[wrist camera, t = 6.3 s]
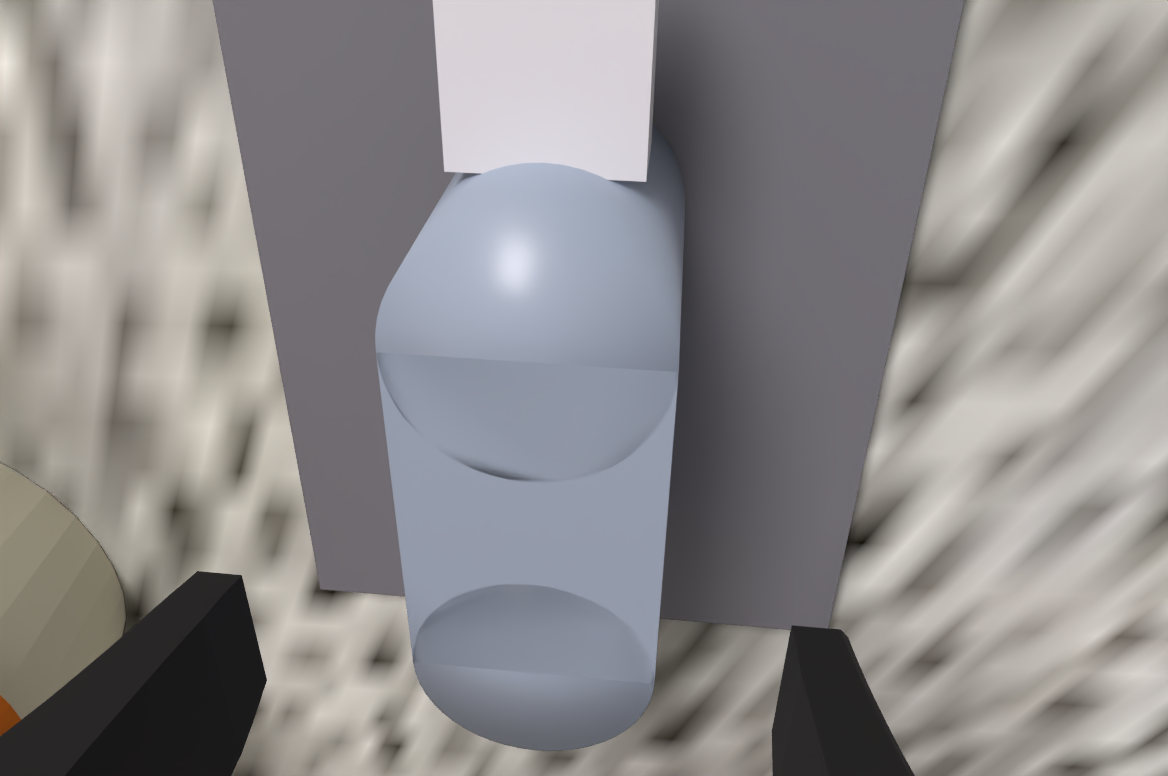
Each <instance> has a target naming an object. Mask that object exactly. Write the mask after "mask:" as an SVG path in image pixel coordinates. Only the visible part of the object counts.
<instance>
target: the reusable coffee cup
mask: <svg viewBox="0 0 1168 776" xmlns="http://www.w3.org/2000/svg"><path fill="white" fill-rule="evenodd" d="M125 619H126V613H125V604H124V595H123V591H122V589H121V586H120V583H119V580H118V578H117V575H116V572H115V570H114V568H113V566H112V564H111V563H110V561H109V559H108V558H107V556H106V555H105V553H104V551H103V550H102V548H101V546H100V545H99V543H98V542H97V541H96V539H95V538H94V537H93V536H92V535H91V534H90V533H89V531H88V530H87V529H86V528H85V527H84V526H83V524H82V523H81V522H80V521H79V520H78V519H77V518H76V516H74V515H73V514H72V513H71V512H70V511H69V510H68V509H66V508H65V507H64V506H63V505H62V504H61V503H60V502H58V501H57V500H56V499H55V498H54V497H53V496H51V495H50V494H49V493H48V492H47V491H45V490H44V489H42V488H41V487H39V486H38V485H36V484H35V483H33V482H32V481H30V480H29V479H27V478H26V477H24V476H23V475H21V474H20V473H18V472H17V471H15V470H13V469H11V468H9V467H7V466H6V465H4V464H2V463H0V736H1V735H2V734H4V733H5V732H6V731H8V730H9V729H10V728H11V727H13V726H14V725H15V724H17V723H18V722H19V721H20V720H22V719H23V718H24V717H25V716H27V715H28V714H29V713H31V712H32V711H33V710H34V709H36V708H37V707H38V706H40V705H41V704H42V703H43V702H45V701H46V700H47V699H48V698H50V697H51V696H52V695H53V694H55V693H56V692H57V691H58V690H59V689H61V688H62V687H63V686H64V685H65V684H67V683H68V682H69V681H70V680H71V679H73V678H74V677H75V676H76V675H77V674H79V673H80V672H81V671H82V670H83V669H84V668H86V667H87V666H88V665H89V664H90V663H92V662H93V661H94V660H95V659H96V658H98V657H99V656H100V655H101V654H102V653H104V652H105V651H106V650H107V649H108V648H109V647H111V646H112V645H113V644H114V643H115V642H116V641H117V640H119V639H120V638H121V637H122V635H123V630H124V625H125Z"/></svg>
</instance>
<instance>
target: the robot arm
mask: <svg viewBox="0 0 1168 776" xmlns="http://www.w3.org/2000/svg"><path fill="white" fill-rule="evenodd" d="M266 681H267V679H266V675H265V671H264V666H263V662H262V658H261V654H260V650H259V646H258V641H257V637H256V633H255V629H254V625H253V621H252V616H251V612H250V608H249V604H248V600H247V596H246V591H245V587H244V583H243V579H242V575H232V574H221V573H210V572H199V571H197V572H196V573H195V574H194V575H193V576H192V577H190V578H189V579H188V580H187V581H186V582H185V583H183V584H182V585H181V586H180V587H179V588H177V589H176V590H175V591H174V592H173V593H171V594H170V595H169V596H168V597H167V598H166V599H165V600H163V601H162V602H161V603H160V604H159V605H158V606H156V607H155V608H154V609H153V610H152V611H151V612H150V613H148V614H147V615H146V616H145V617H144V618H143V619H142V620H140V621H139V622H138V623H137V624H136V625H135V626H134V627H132V628H131V629H130V630H129V631H128V632H127V633H125V634H124V635H123V636H122V637H121V638H120V639H119V640H117V641H116V642H115V643H114V644H113V645H112V646H111V647H109V648H108V649H107V650H106V651H105V652H104V653H102V654H101V655H100V656H99V657H98V658H96V659H95V660H94V661H93V662H92V663H90V664H89V665H88V666H87V667H86V668H84V669H83V670H82V671H81V672H80V673H79V674H77V675H76V676H75V677H74V678H73V679H71V680H70V681H69V682H68V683H67V684H65V685H64V686H63V687H62V688H61V689H59V690H58V691H57V692H56V693H55V694H53V695H52V696H51V697H50V698H48V699H47V700H46V701H45V702H43V703H42V704H41V705H40V706H38V707H37V708H36V709H34V710H33V711H32V712H31V713H29V714H28V715H27V716H25V717H24V718H23V719H22V720H20V721H19V722H18V723H17V724H15V725H14V726H13V727H11V728H10V729H9V730H8V731H6V732H5V733H4V734H2V735H1V736H0V776H231V775H232V773H233V770H234V768H235V766H236V764H237V762H238V760H239V758H240V756H241V753H242V751H243V748H244V745H245V742H246V740H247V737H248V734H249V731H250V729H251V726H252V723H253V720H254V717H255V714H256V711H257V708H258V705H259V702H260V699H261V696H262V693H263V690H264V687H265V684H266ZM772 758H773V776H915V775H914V774H913V772H912V770H911V768H910V766H909V765H908V763H907V761H906V759H905V757H904V756H903V754H902V752H901V750H900V748H899V746H898V744H897V743H896V741H895V739H894V737H893V735H892V733H891V731H890V729H889V727H888V725H887V723H886V721H885V719H884V717H883V715H882V713H881V711H880V709H879V707H878V705H877V703H876V701H875V699H874V697H873V694H872V692H871V690H870V688H869V686H868V684H867V681H866V679H865V677H864V675H863V672H862V670H861V668H860V666H859V663H858V661H857V658H856V656H855V654H854V651H853V649H852V646H851V644H850V641H849V638H848V637H847V636H846V635H845V634H844V632H843V631H842V630H838V629H827V628H816V627H805V626H794V625H792V626H791V632H790V637H789V643H788V648H787V653H786V659H785V664H784V669H783V675H782V680H781V685H780V691H779V696H778V702H777V707H776V712H775V718H774V723H773V728H772Z"/></svg>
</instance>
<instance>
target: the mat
mask: <svg viewBox="0 0 1168 776" xmlns="http://www.w3.org/2000/svg"><path fill="white" fill-rule="evenodd" d="M963 4H964V0H659V9H658V28H657V47H656V66H655V85H654V104H653V124H654V125H655V126H656V127H657V128H658V130H659V131H660V132H661V133H662V135H663V136H664V137H665V138H666V140H667V142H668V143H669V145H670V147H671V148H672V150H673V152H674V154H675V156H676V158H677V161H678V163H679V166H680V169H681V173H682V176H683V181H684V188H685V224H684V249H683V275H682V300H681V326H680V351H679V374H678V387H677V400H676V413H675V425H674V438H673V451H672V464H671V476H670V489H669V502H668V514H667V527H666V540H665V553H664V565H663V578H662V591H661V604H660V616H659V618H660V619H671V620H683V621H695V622H706V623H718V624H729V625H741V626H752V627H764V628H775V629H787V630H791V626H792V625H794V626H805V627H816V628H827V629H828V627H829V622H830V618H831V613H832V608H833V604H834V599H835V595H836V590H837V585H838V581H839V576H840V571H841V567H842V562H843V558H844V553H845V548H846V544H847V539H848V535H849V530H850V525H851V521H852V516H853V511H854V507H855V502H856V498H857V493H858V488H859V484H860V479H861V475H862V470H863V465H864V461H865V456H866V452H867V447H868V442H869V438H870V433H871V428H872V424H873V419H874V415H875V410H876V405H877V401H878V396H879V392H880V387H881V382H882V378H883V373H884V368H885V364H886V359H887V355H888V350H889V345H890V341H891V336H892V332H893V327H894V322H895V318H896V313H897V308H898V304H899V299H900V295H901V290H902V285H903V281H904V276H905V272H906V267H907V262H908V258H909V253H910V249H911V244H912V239H913V235H914V230H915V225H916V221H917V216H918V212H919V207H920V202H921V198H922V193H923V189H924V184H925V179H926V175H927V170H928V165H929V161H930V156H931V152H932V147H933V142H934V138H935V133H936V129H937V124H938V119H939V115H940V110H941V105H942V101H943V96H944V92H945V87H946V82H947V78H948V73H949V69H950V64H951V59H952V55H953V50H954V46H955V41H956V36H957V32H958V27H959V22H960V18H961V13H962V9H963ZM213 5H214V11H215V16H216V22H217V27H218V33H219V38H220V44H221V49H222V55H223V60H224V65H225V71H226V76H227V82H228V87H229V93H230V98H231V104H232V109H233V115H234V120H235V125H236V131H237V136H238V142H239V147H240V153H241V158H242V164H243V169H244V175H245V180H246V185H247V191H248V196H249V202H250V207H251V213H252V218H253V224H254V229H255V235H256V240H257V245H258V251H259V256H260V262H261V267H262V273H263V278H264V284H265V289H266V295H267V300H268V305H269V311H270V316H271V322H272V327H273V333H274V338H275V344H276V349H277V355H278V360H279V365H280V371H281V376H282V382H283V387H284V393H285V398H286V404H287V409H288V415H289V420H290V425H291V431H292V436H293V442H294V447H295V453H296V458H297V464H298V469H299V475H300V480H301V485H302V491H303V496H304V502H305V507H306V513H307V518H308V524H309V529H310V535H311V540H312V545H313V551H314V556H315V562H316V567H317V573H318V578H319V584H320V589H325V590H336V591H348V592H360V593H371V594H383V595H394V596H405V589H404V581H403V573H402V564H401V556H400V548H399V540H398V531H397V523H396V515H395V506H394V498H393V490H392V482H391V473H390V465H389V457H388V449H387V440H386V432H385V424H384V415H383V407H382V399H381V391H380V382H379V374H378V366H377V357H376V344H375V331H376V322H377V316H378V312H379V309H380V305H381V301H382V299H383V297H384V295H385V292H386V290H387V288H388V286H389V284H390V282H391V281H392V279H393V277H394V276H395V274H396V272H397V271H398V269H399V267H400V266H401V264H402V262H403V260H404V259H405V257H406V255H407V254H408V252H409V250H410V249H411V247H412V245H413V244H414V242H415V240H416V239H417V237H418V235H419V234H420V232H421V230H422V228H423V227H424V225H425V223H426V222H427V220H428V218H429V217H430V215H431V213H432V212H433V210H434V208H435V207H436V205H437V203H438V202H439V200H440V198H441V196H442V195H443V193H444V191H445V190H446V188H447V186H448V185H449V183H450V181H451V180H452V178H453V176H454V175H455V173H456V172H444V160H443V146H442V131H441V116H440V102H439V87H438V72H437V57H436V43H435V28H434V13H433V0H213Z"/></svg>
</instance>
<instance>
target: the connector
mask: <svg viewBox="0 0 1168 776" xmlns="http://www.w3.org/2000/svg"><path fill="white" fill-rule="evenodd" d="M658 9H659V0H433V13H434V28H435V43H436V57H437V72H438V87H439V102H440V116H441V131H442V146H443V160H444V172H456V173H455V175H454V176H453V178H452V180H451V181H450V183H449V185H448V186H447V188H446V190H445V191H444V193H443V195H442V196H441V198H440V200H439V202H438V203H437V205H436V207H435V208H434V210H433V212H432V213H431V215H430V217H429V218H428V220H427V222H426V223H425V225H424V227H423V228H422V230H421V232H420V234H419V235H418V237H417V239H416V240H415V242H414V244H413V245H412V247H411V249H410V250H409V252H408V254H407V255H406V257H405V259H404V260H403V262H402V264H401V266H400V267H399V269H398V271H397V272H396V274H395V276H394V277H393V279H392V281H391V282H390V284H389V286H388V288H387V290H386V292H385V295H384V297H383V299H382V301H381V305H380V309H379V312H378V316H377V322H376V331H375V344H376V357H377V366H378V374H379V382H380V391H381V399H382V407H383V415H384V424H385V432H386V440H387V449H388V457H389V465H390V473H391V482H392V490H393V498H394V506H395V515H396V523H397V531H398V540H399V548H400V556H401V564H402V573H403V581H404V589H405V598H406V606H407V614H408V622H409V631H410V639H411V647H412V656H413V663H414V668H415V672H416V675H417V678H418V680H419V683H420V685H421V686H422V688H423V690H424V692H425V693H426V695H427V696H428V697H429V698H430V700H431V701H432V702H433V703H434V704H435V705H436V706H437V707H438V708H439V709H440V710H441V711H442V712H443V713H444V714H445V715H446V716H448V717H449V718H450V719H451V720H453V721H454V722H456V723H457V724H459V725H460V726H462V727H463V728H465V729H467V730H469V731H471V732H473V733H475V734H477V735H479V736H481V737H484V738H486V739H489V740H491V741H494V742H498V743H501V744H504V745H508V746H513V747H517V748H523V749H530V750H542V751H563V750H572V749H579V748H584V747H588V746H592V745H595V744H598V743H601V742H604V741H607V740H609V739H611V738H613V737H615V736H617V735H619V734H620V733H622V732H623V731H625V730H627V729H628V728H629V727H630V726H631V725H633V724H634V723H635V722H636V721H637V720H638V719H639V717H640V716H641V715H642V714H643V713H644V711H645V709H646V708H647V706H648V704H649V702H650V699H651V697H652V694H653V688H654V680H655V667H656V655H657V642H658V629H659V616H660V604H661V591H662V578H663V565H664V553H665V540H666V527H667V514H668V502H669V489H670V476H671V464H672V451H673V438H674V425H675V413H676V400H677V387H678V374H679V351H680V326H681V300H682V275H683V249H684V224H685V188H684V181H683V176H682V173H681V169H680V166H679V163H678V161H677V158H676V156H675V154H674V152H673V150H672V148H671V147H670V145H669V143H668V142H667V140H666V138H665V137H664V136H663V135H662V133H661V132H660V131H659V130H658V128H657V127H656V126H655V125H654V124H653V104H654V85H655V66H656V47H657V28H658Z"/></svg>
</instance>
